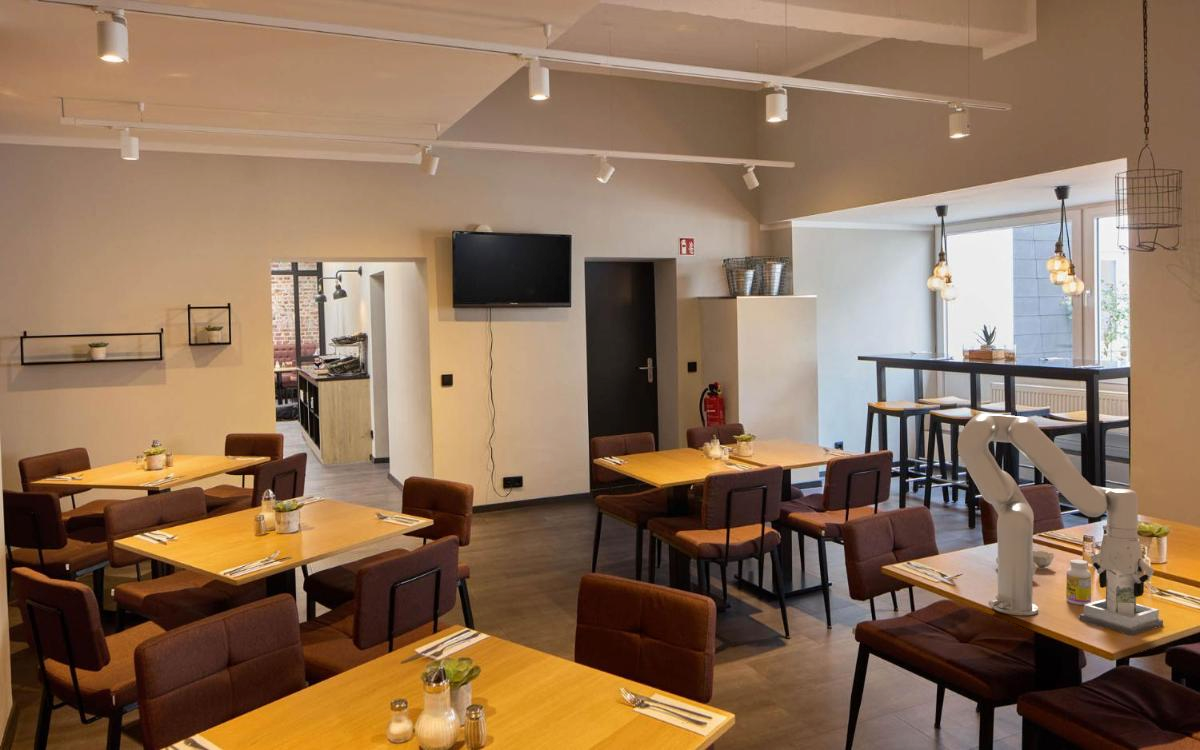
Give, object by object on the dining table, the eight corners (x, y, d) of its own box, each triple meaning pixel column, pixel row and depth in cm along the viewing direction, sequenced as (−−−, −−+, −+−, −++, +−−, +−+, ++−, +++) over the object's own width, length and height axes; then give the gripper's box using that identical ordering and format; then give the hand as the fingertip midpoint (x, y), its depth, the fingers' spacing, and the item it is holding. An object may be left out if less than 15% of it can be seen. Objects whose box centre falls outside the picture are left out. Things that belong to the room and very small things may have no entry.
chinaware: (1037, 590, 281) (1043, 542, 279) (983, 577, 291) (989, 530, 289) (1055, 570, 303) (1061, 525, 301) (1005, 558, 313) (1010, 514, 311)
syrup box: (1125, 614, 248) (1126, 564, 247) (1136, 621, 242) (1137, 570, 241) (1105, 613, 249) (1105, 564, 248) (1115, 621, 243) (1116, 570, 242)
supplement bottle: (1062, 598, 267) (1062, 558, 267) (1084, 598, 267) (1084, 558, 266) (1072, 605, 261) (1073, 564, 260) (1095, 605, 260) (1095, 564, 260)
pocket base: (1132, 635, 236) (1132, 619, 235) (1079, 619, 249) (1079, 604, 248) (1162, 625, 243) (1163, 609, 242) (1110, 610, 256) (1110, 595, 256)
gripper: (1084, 528, 250) (1083, 585, 251) (1145, 540, 235) (1144, 601, 236) (1099, 524, 254) (1099, 581, 255) (1161, 537, 238) (1160, 597, 239)
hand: (1120, 591), depth 245 cm, fingers open, 9 cm apart
